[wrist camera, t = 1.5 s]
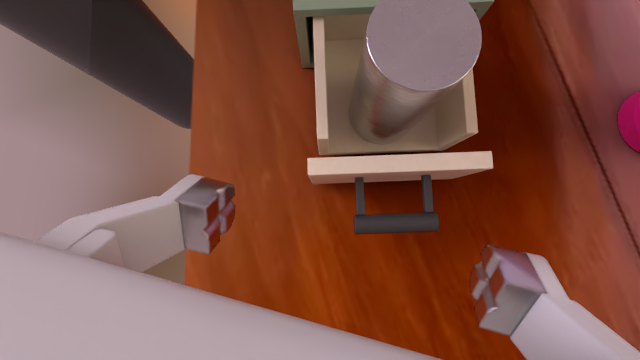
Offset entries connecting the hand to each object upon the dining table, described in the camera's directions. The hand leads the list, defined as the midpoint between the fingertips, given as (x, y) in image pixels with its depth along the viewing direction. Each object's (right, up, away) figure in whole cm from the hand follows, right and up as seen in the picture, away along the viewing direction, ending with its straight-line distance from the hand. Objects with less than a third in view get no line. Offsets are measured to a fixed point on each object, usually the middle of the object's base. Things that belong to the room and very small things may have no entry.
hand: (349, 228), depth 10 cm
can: (+4, +7, +17) cm, 19 cm away
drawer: (+4, +6, +18) cm, 19 cm away
